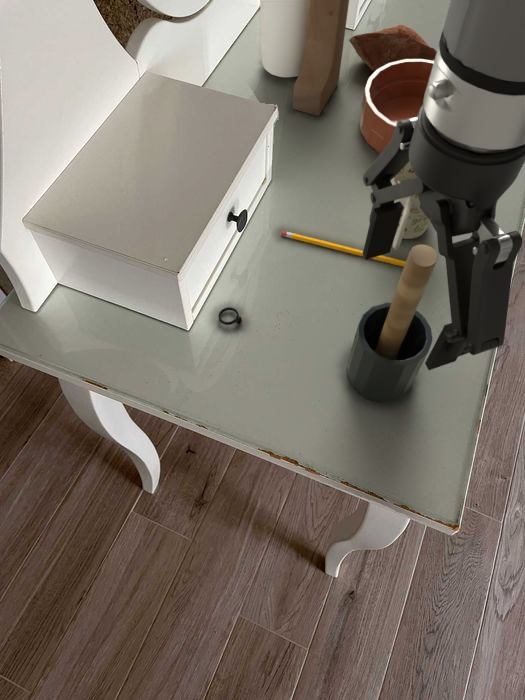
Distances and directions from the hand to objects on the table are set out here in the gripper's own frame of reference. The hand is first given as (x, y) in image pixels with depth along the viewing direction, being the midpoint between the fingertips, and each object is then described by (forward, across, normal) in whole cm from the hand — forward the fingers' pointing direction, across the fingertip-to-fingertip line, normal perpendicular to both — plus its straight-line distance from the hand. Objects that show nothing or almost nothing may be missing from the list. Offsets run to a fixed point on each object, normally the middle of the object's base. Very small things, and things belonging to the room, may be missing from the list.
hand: (406, 305), depth 56 cm
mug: (+14, -18, +12) cm, 26 cm away
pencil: (+14, -18, +4) cm, 23 cm away
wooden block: (+14, -48, +12) cm, 52 cm away
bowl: (+14, -36, +23) cm, 45 cm away
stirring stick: (+14, 0, 0) cm, 14 cm away
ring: (+14, -13, -14) cm, 24 cm away
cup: (+14, -56, +10) cm, 59 cm away
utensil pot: (+14, 0, 0) cm, 14 cm away
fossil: (+14, -50, +26) cm, 58 cm away
